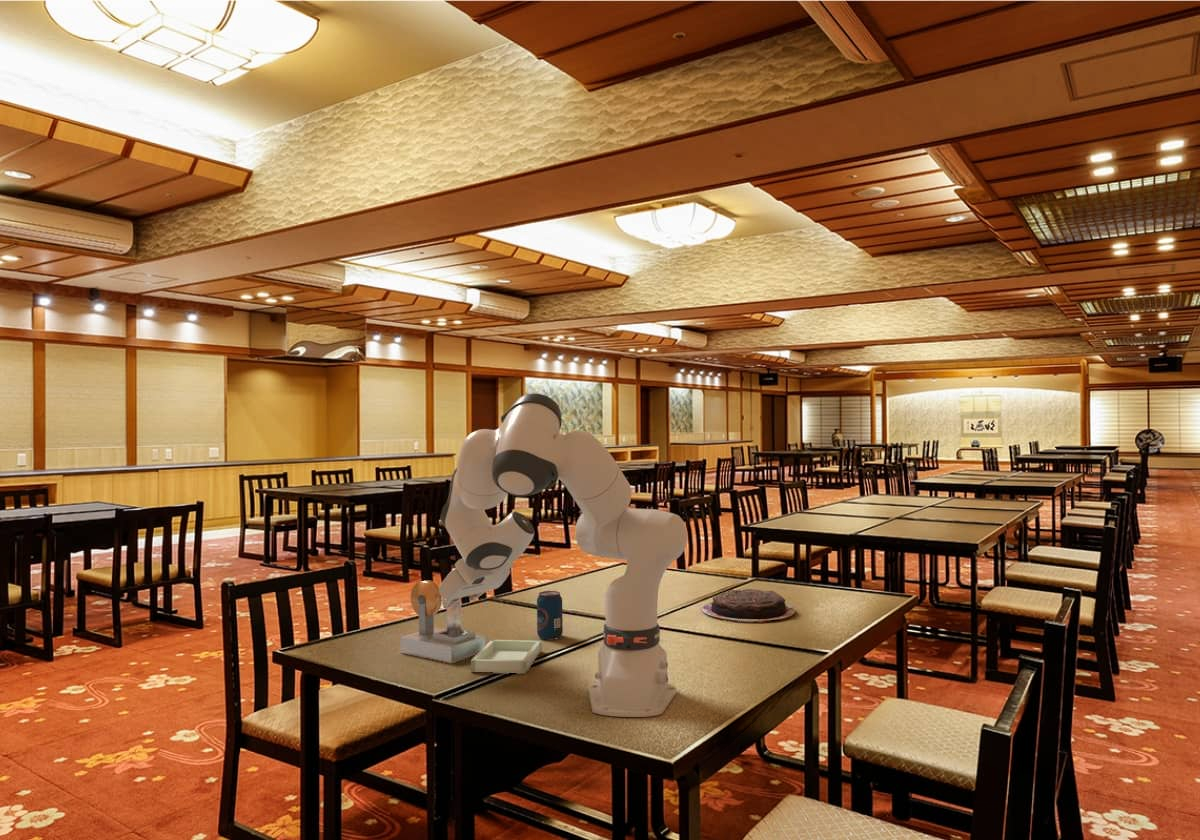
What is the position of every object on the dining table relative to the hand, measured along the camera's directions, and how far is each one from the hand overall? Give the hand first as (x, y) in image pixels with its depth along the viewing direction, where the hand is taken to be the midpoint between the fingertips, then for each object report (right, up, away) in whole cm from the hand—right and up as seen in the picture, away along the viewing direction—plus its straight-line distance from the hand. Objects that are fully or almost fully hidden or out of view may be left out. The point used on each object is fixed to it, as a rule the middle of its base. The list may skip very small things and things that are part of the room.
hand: (458, 601), depth 193 cm
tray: (+13, -14, -4) cm, 19 cm away
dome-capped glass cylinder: (-2, -10, +2) cm, 10 cm away
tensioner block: (-5, -14, +5) cm, 16 cm away
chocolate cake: (+80, -14, +43) cm, 92 cm away
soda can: (+22, -14, +18) cm, 31 cm away
